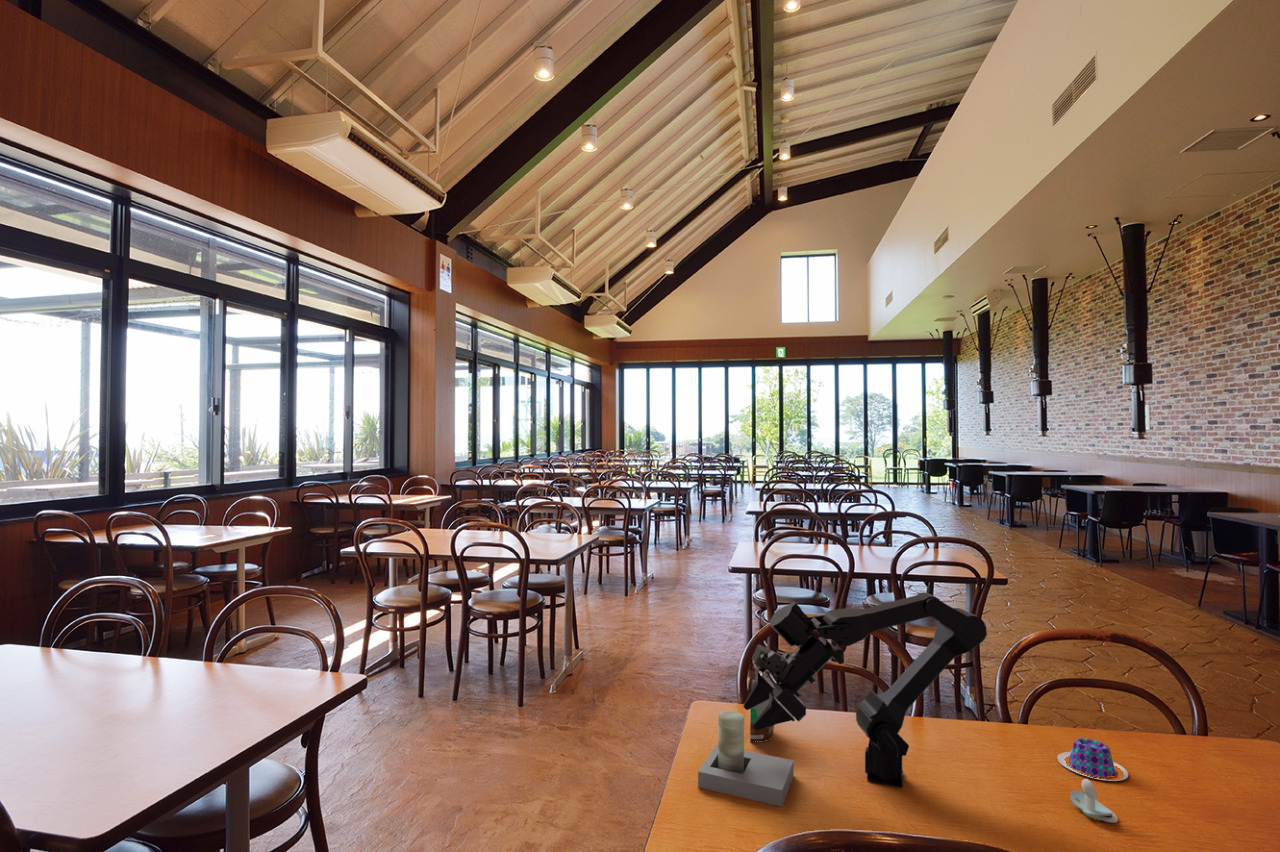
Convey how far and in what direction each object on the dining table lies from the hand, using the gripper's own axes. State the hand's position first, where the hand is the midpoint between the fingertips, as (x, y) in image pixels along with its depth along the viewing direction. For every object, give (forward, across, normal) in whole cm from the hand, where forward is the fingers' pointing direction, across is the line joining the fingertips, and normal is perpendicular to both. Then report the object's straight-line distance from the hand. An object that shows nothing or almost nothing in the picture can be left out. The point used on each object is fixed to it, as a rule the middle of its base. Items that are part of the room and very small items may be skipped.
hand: (749, 717), depth 128 cm
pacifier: (-34, +13, +51) cm, 63 cm away
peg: (+11, 0, +6) cm, 12 cm away
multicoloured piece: (-42, -3, +59) cm, 73 cm away
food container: (+3, -19, +14) cm, 24 cm away
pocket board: (+9, +1, +8) cm, 12 cm away
